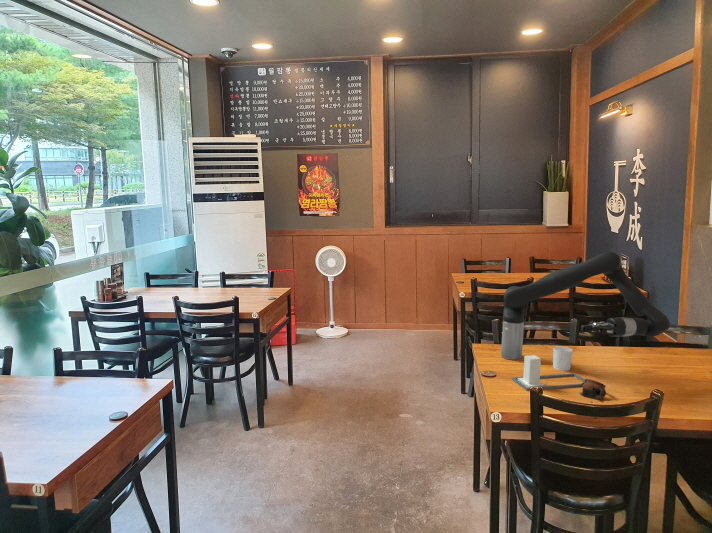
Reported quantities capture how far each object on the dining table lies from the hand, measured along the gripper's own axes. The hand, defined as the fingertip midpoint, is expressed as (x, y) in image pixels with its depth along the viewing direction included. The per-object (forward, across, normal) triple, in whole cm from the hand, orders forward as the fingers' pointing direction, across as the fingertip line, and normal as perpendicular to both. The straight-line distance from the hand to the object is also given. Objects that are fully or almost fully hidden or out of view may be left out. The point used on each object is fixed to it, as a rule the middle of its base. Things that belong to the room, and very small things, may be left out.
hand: (582, 328), depth 211 cm
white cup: (-2, -15, +24) cm, 28 cm away
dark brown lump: (+3, +15, +24) cm, 28 cm away
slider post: (+20, 0, +22) cm, 30 cm away
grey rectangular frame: (+12, 0, +23) cm, 26 cm away
